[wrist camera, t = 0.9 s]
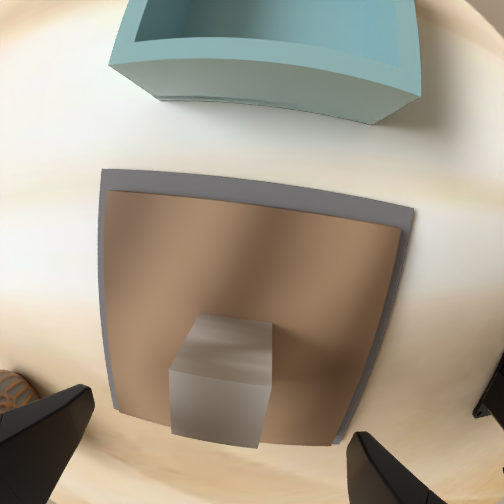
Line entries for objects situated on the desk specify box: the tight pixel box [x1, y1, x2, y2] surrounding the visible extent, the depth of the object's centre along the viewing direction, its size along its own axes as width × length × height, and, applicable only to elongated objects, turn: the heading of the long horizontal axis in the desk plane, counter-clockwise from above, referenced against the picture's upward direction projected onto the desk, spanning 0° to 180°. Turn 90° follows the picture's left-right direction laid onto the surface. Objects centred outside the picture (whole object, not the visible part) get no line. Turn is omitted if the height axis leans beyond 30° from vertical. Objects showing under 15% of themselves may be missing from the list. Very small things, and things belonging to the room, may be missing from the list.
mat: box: [98, 169, 414, 444], centre depth 14 cm, size 15×15×1 cm
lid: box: [104, 190, 401, 449], centre depth 11 cm, size 13×13×6 cm
